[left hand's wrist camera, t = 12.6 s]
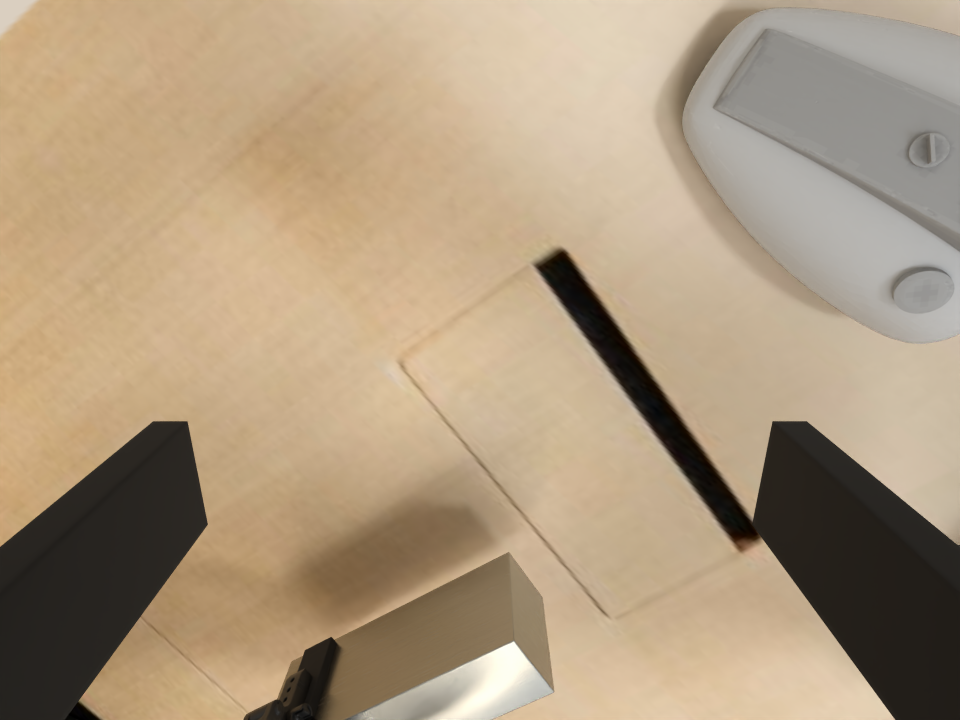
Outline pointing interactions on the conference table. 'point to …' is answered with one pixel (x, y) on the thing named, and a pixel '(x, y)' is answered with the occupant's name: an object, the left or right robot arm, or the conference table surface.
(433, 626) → the bar
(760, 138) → the projector
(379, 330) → the conference table surface
